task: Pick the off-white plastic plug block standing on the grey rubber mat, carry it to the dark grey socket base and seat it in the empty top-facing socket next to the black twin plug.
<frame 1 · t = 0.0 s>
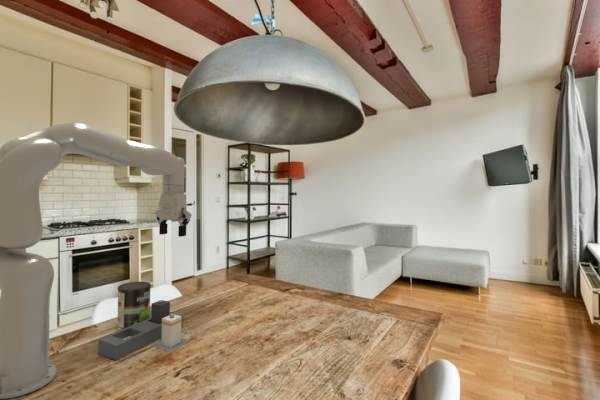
hand: (172, 235, 114), 31 cm above the table, fingers open, 9 cm apart
coffee can: (133, 325, 107), on the table
twin plug: (160, 326, 102), point 2 cm above the table, touching dark grey socket base
dark grey socket base: (144, 340, 96), on the table
mat: (171, 344, 94), on the table
plug: (171, 342, 94), resting on mat
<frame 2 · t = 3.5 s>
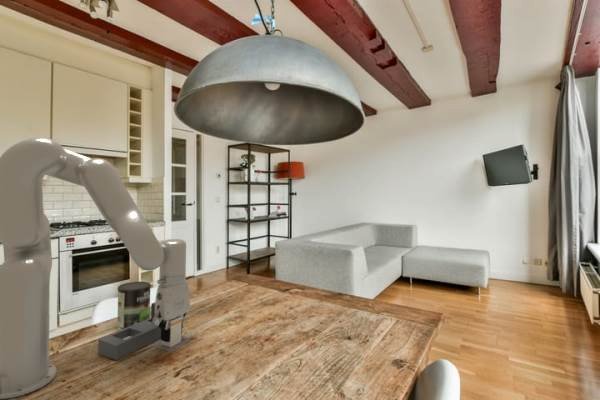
hand: (171, 337, 94), 2 cm above the table, fingers closed on plug, 4 cm apart
plug: (171, 342, 94), resting on mat, touching gripper
everything else where it was.
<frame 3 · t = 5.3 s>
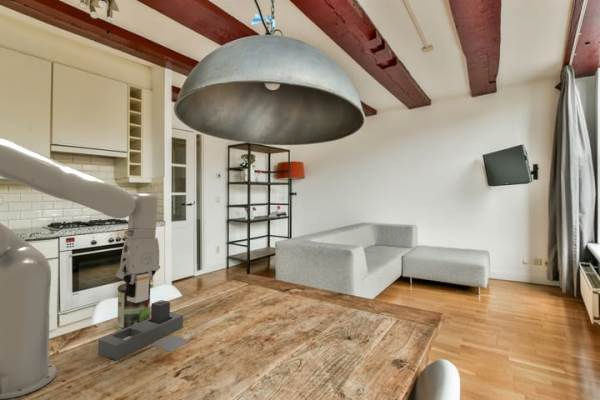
hand: (137, 294, 91), 17 cm above the table, fingers closed on plug, 4 cm apart
plug: (137, 299, 91), point 15 cm above the table, touching gripper
everything else where it was.
when the fingers open (6 cm above the table, at t = 7.2 s): plug drops 2 cm, resting on dark grey socket base.
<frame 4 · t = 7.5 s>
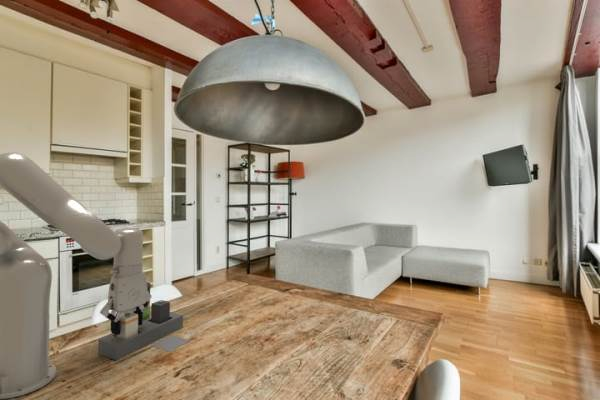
hand: (127, 328, 91), 6 cm above the table, fingers open, 6 cm apart
plug: (127, 341, 91), point 2 cm above the table, touching dark grey socket base
everything else where it was.
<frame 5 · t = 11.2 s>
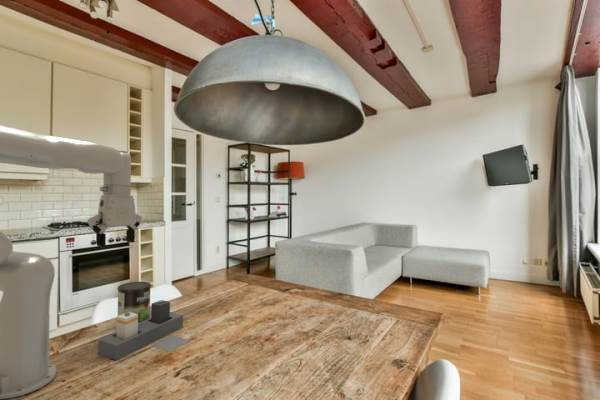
hand: (116, 244, 97), 30 cm above the table, fingers open, 9 cm apart
nothing on the table moved.
at the end: plug 0.0 cm from the target spot on the dark grey socket base, point 2.1 cm above the dark grey socket base's base; plug tilted 0°; the gripper is holding nothing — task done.
